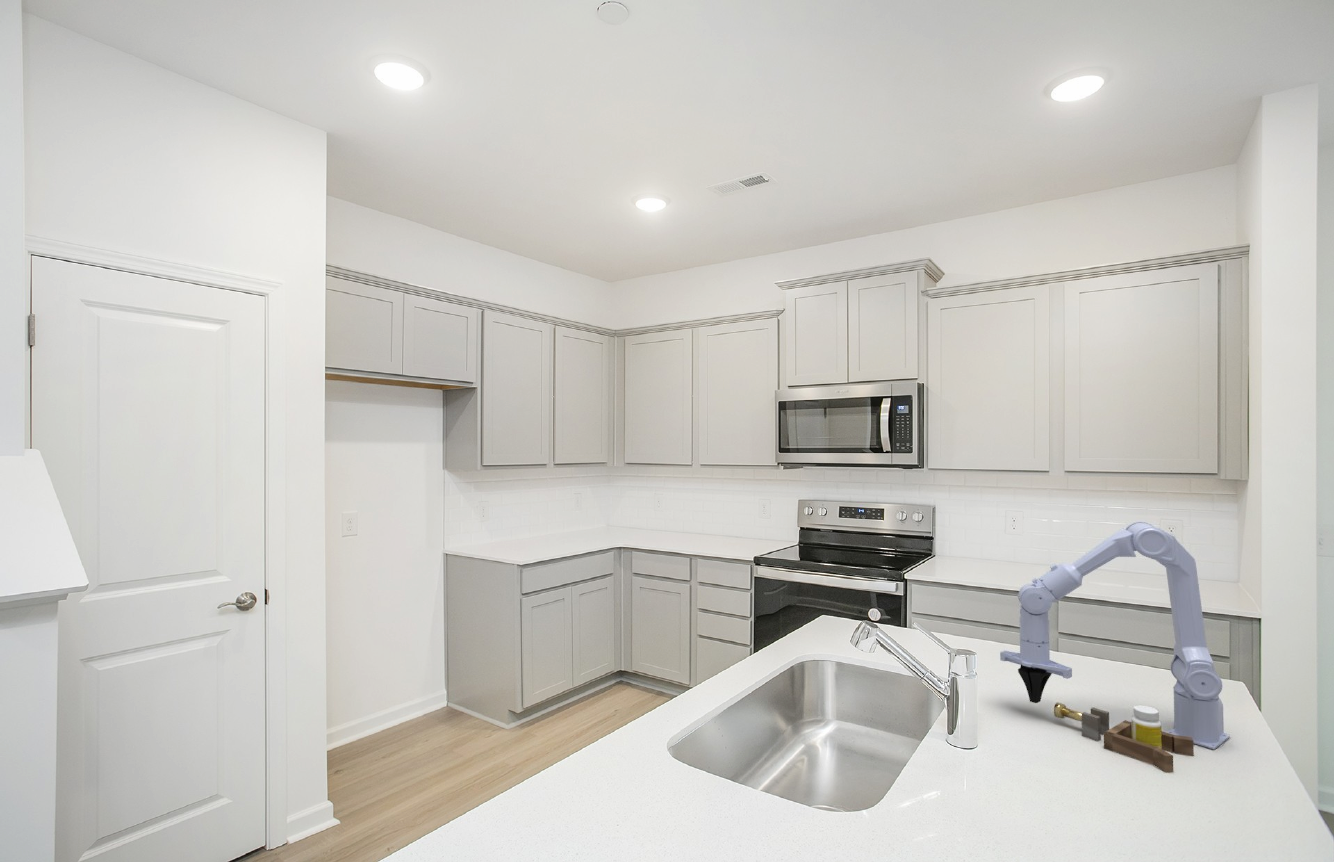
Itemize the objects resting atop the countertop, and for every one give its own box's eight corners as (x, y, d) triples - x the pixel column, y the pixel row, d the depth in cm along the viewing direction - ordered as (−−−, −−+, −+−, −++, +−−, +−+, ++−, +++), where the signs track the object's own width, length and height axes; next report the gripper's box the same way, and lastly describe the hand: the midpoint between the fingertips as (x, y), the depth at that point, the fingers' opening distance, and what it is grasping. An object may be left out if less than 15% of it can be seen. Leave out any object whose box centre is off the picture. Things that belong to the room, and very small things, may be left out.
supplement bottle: (1167, 758, 127) (1167, 714, 127) (1142, 758, 127) (1141, 714, 127) (1151, 747, 131) (1150, 704, 131) (1126, 746, 132) (1125, 704, 132)
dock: (1101, 724, 142) (1101, 703, 142) (1196, 754, 128) (1195, 730, 128) (1073, 741, 134) (1072, 718, 134) (1170, 774, 121) (1170, 748, 121)
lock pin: (1060, 714, 144) (1060, 701, 144) (1097, 726, 138) (1097, 712, 138) (1053, 718, 142) (1053, 704, 142) (1090, 730, 136) (1090, 715, 136)
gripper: (992, 635, 150) (993, 695, 150) (1060, 651, 138) (1061, 717, 138) (1009, 629, 154) (1009, 688, 154) (1076, 645, 143) (1077, 709, 142)
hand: (1035, 701), depth 147 cm, fingers closed
